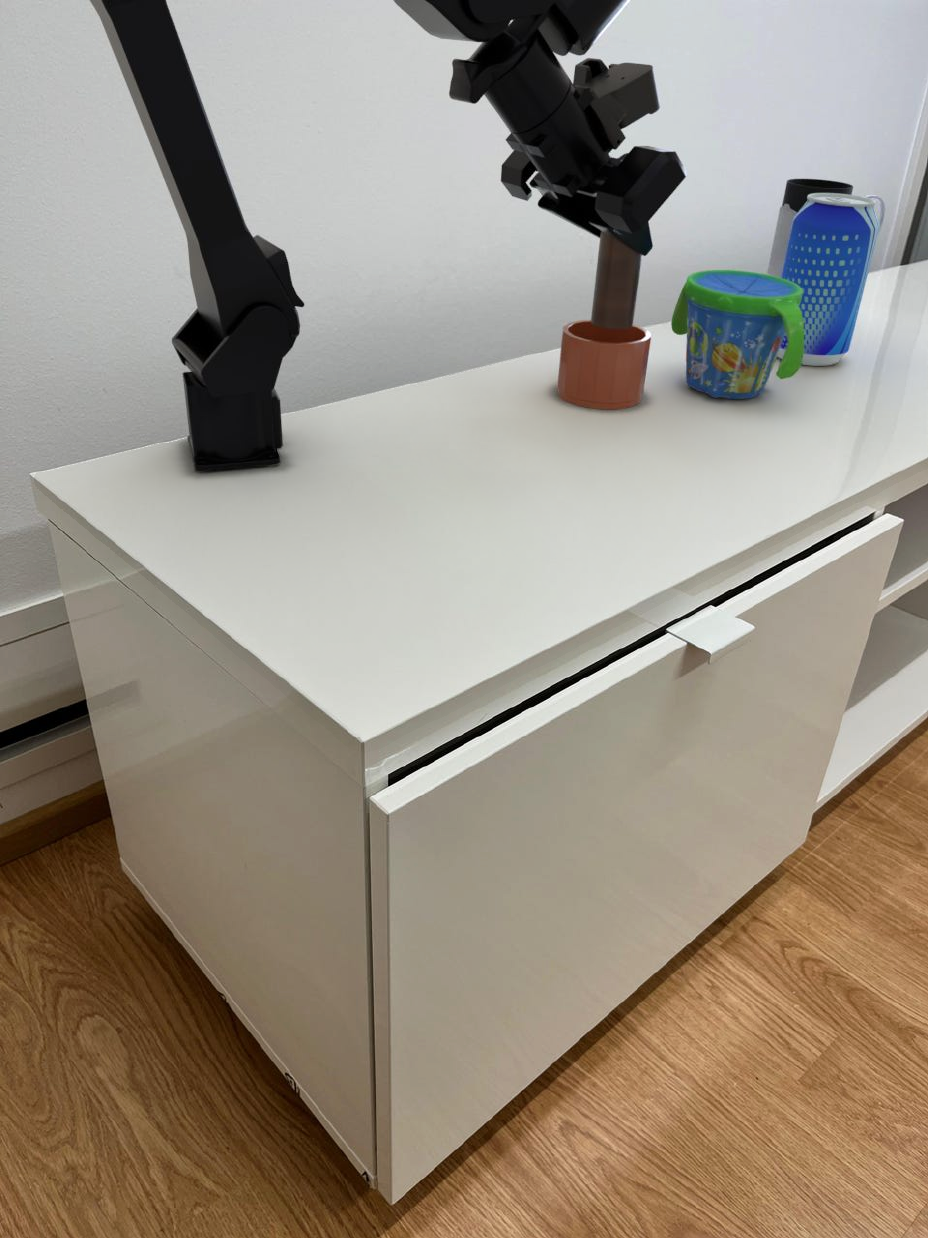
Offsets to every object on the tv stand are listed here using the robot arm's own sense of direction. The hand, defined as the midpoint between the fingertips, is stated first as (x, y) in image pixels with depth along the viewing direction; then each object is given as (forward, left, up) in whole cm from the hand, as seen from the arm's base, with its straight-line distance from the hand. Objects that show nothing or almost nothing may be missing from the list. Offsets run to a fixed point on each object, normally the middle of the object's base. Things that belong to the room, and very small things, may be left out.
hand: (633, 246), depth 86 cm
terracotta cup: (-1, +1, -13) cm, 14 cm away
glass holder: (+39, +24, -14) cm, 47 cm away
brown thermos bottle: (-1, 0, -7) cm, 7 cm away
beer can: (+27, +8, -14) cm, 31 cm away
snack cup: (+12, 0, -14) cm, 18 cm away
